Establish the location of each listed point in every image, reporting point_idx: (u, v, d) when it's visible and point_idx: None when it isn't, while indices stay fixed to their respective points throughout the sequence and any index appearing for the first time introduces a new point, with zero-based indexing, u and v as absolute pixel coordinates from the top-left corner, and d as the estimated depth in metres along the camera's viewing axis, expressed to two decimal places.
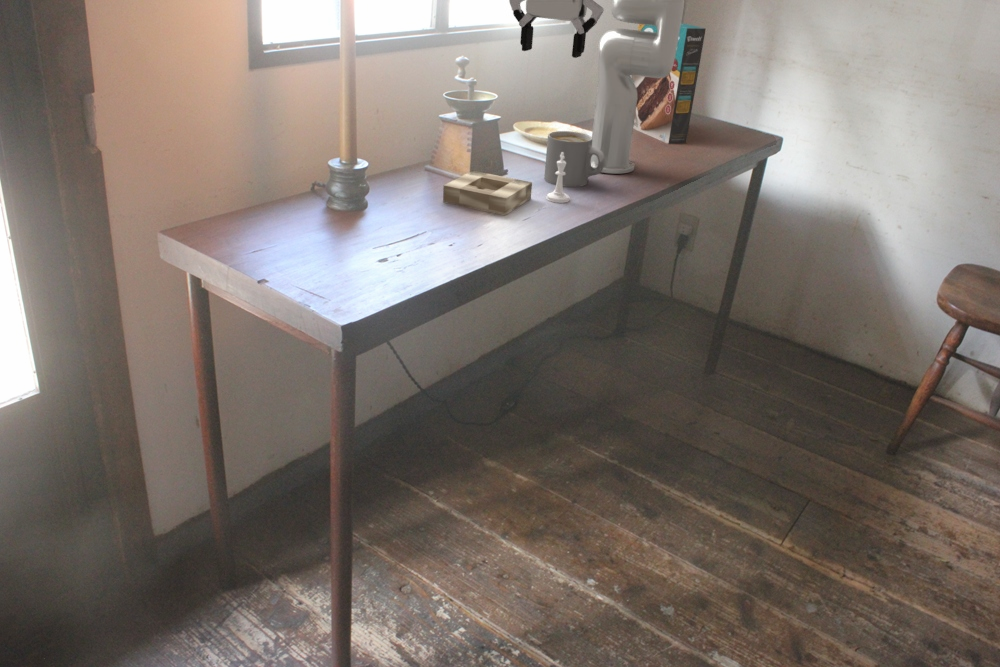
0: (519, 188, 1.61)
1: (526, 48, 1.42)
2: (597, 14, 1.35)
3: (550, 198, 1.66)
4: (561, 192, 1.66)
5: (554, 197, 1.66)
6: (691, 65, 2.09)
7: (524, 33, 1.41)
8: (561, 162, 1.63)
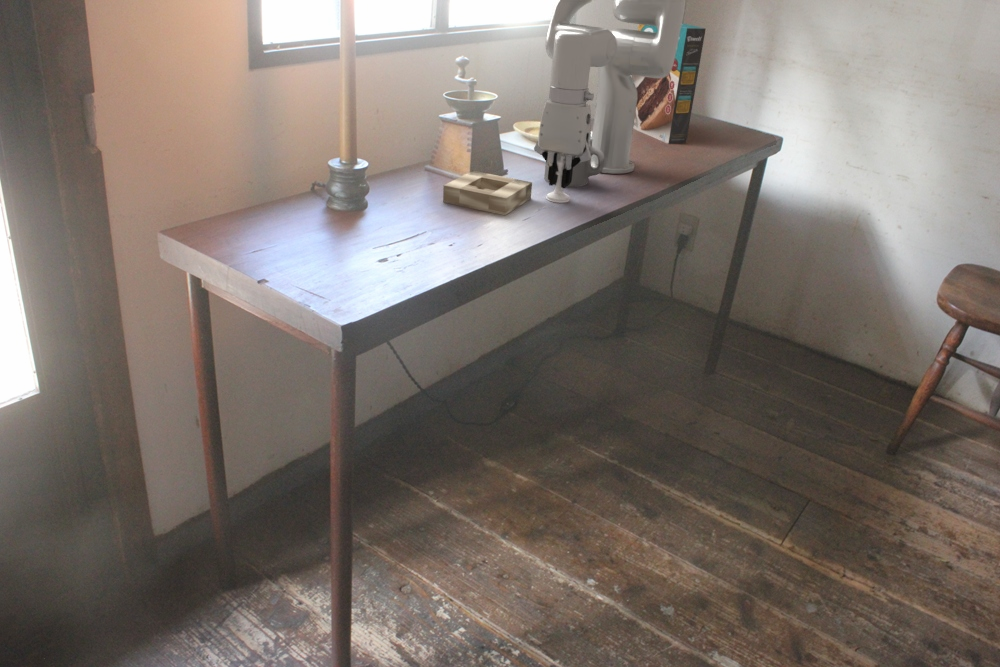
0: (519, 188, 1.61)
1: (553, 183, 1.65)
2: (584, 159, 1.61)
3: (550, 198, 1.66)
4: (561, 192, 1.66)
5: (554, 196, 1.66)
6: (691, 65, 2.09)
7: (551, 171, 1.64)
8: (561, 162, 1.63)
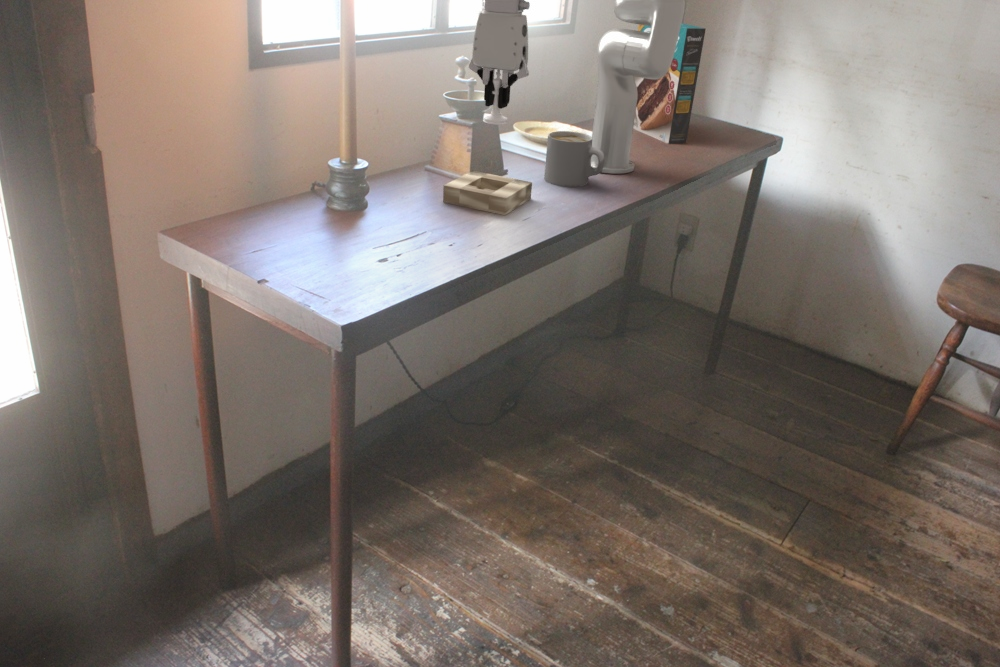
0: (519, 188, 1.61)
1: (489, 104, 1.55)
2: (521, 76, 1.50)
3: (486, 120, 1.55)
4: (498, 113, 1.55)
5: (491, 118, 1.55)
6: (691, 65, 2.09)
7: (487, 90, 1.53)
8: (497, 80, 1.52)
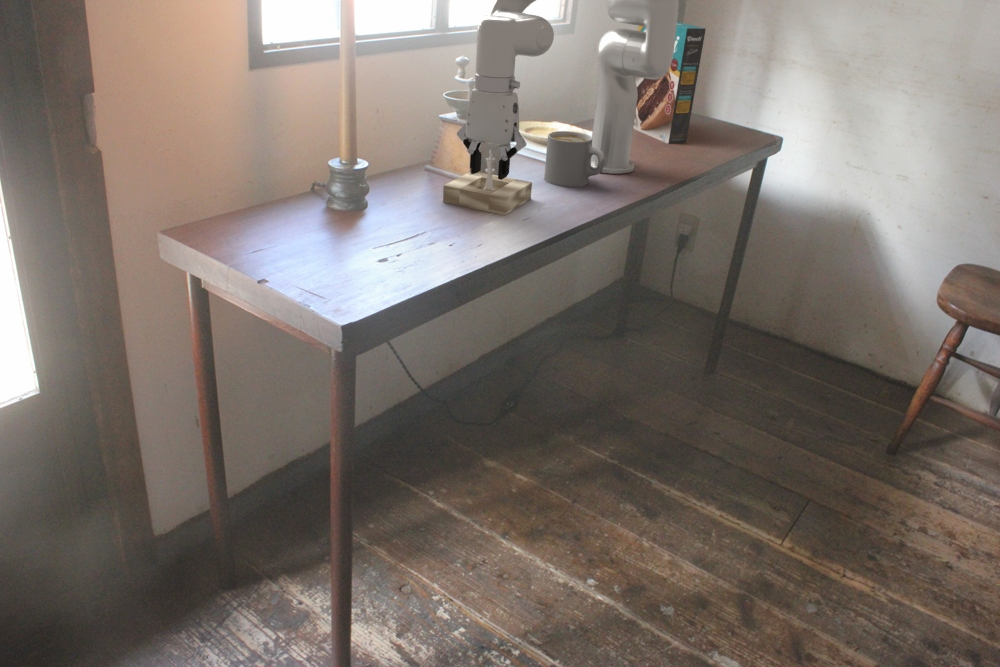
0: (519, 188, 1.61)
1: (475, 172, 1.62)
2: (519, 147, 1.56)
3: None
4: None
5: None
6: (691, 65, 2.09)
7: (472, 160, 1.60)
8: (490, 159, 1.59)
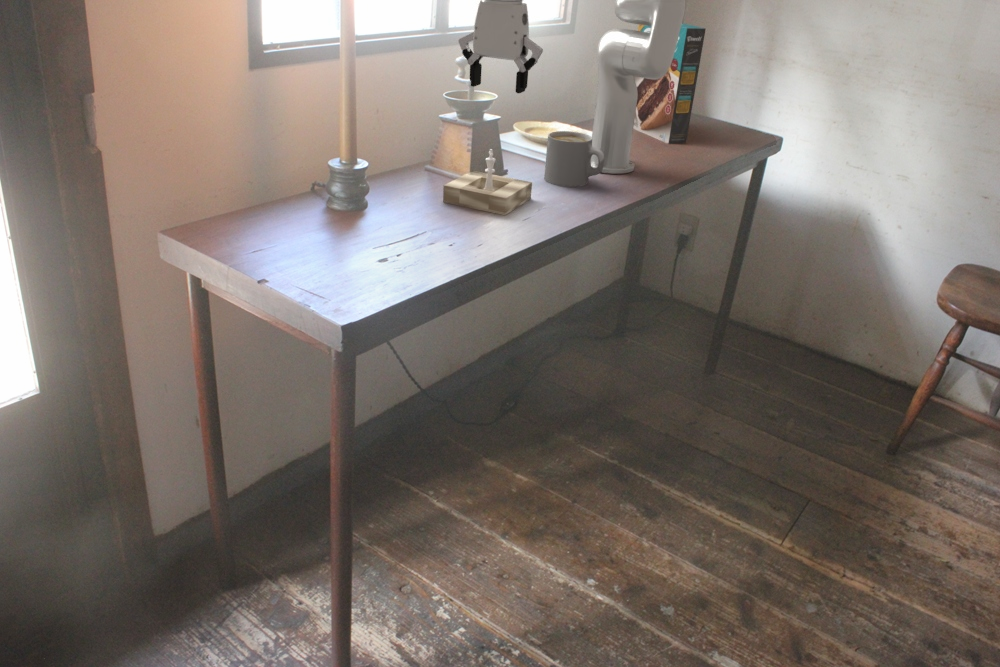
0: (519, 188, 1.61)
1: (475, 84, 1.55)
2: (537, 54, 1.48)
3: None
4: None
5: None
6: (691, 65, 2.09)
7: (472, 70, 1.53)
8: (490, 159, 1.60)
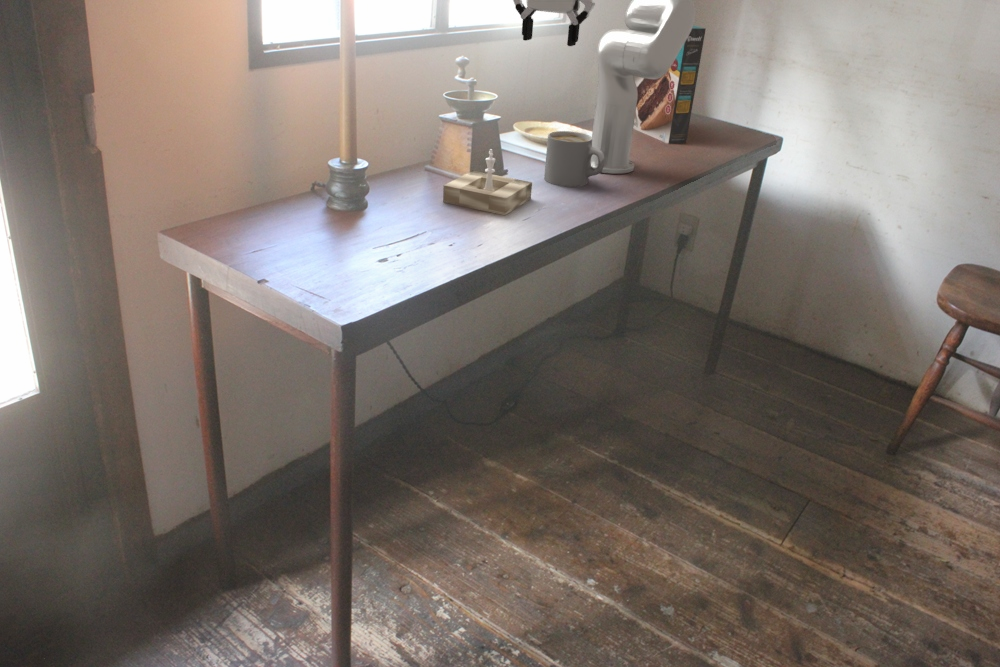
0: (519, 188, 1.61)
1: (527, 38, 1.61)
2: (589, 7, 1.53)
3: None
4: None
5: None
6: (691, 65, 2.09)
7: (525, 24, 1.59)
8: (490, 159, 1.60)
